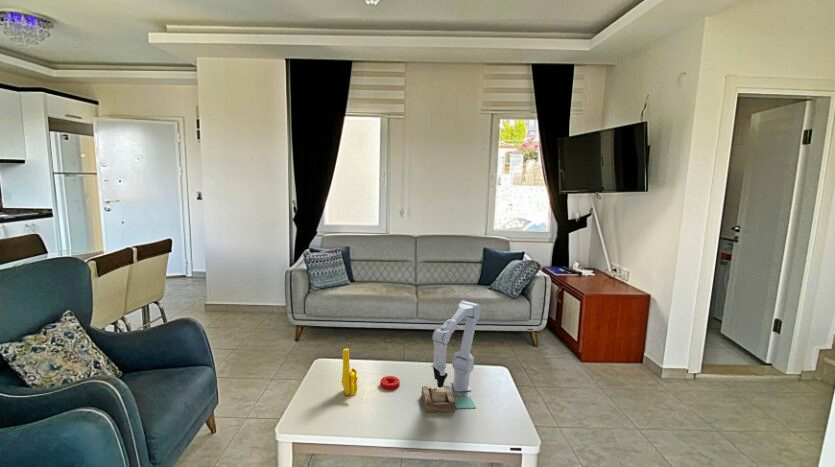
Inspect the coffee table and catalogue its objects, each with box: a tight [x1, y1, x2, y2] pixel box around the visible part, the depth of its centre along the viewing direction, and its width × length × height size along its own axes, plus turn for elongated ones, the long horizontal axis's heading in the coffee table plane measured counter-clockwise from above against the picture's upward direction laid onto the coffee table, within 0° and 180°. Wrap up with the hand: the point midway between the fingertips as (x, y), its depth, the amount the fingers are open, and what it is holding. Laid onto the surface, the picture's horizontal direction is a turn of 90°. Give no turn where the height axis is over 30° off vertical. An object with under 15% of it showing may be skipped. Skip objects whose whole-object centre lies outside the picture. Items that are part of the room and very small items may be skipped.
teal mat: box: [453, 397, 477, 410], centre depth 197 cm, size 9×9×1 cm
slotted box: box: [421, 385, 456, 414], centre depth 196 cm, size 15×13×5 cm
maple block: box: [430, 386, 446, 402], centre depth 195 cm, size 4×6×5 cm, turn 97°
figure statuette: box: [341, 348, 359, 397], centre depth 201 cm, size 18×8×22 cm, turn 7°
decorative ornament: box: [379, 375, 401, 391], centre depth 211 cm, size 10×10×3 cm
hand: (438, 383), depth 195 cm, fingers open, 7 cm apart
